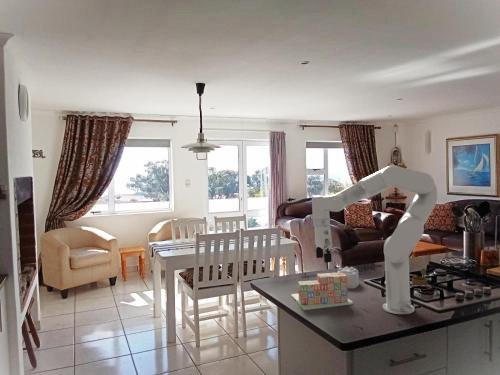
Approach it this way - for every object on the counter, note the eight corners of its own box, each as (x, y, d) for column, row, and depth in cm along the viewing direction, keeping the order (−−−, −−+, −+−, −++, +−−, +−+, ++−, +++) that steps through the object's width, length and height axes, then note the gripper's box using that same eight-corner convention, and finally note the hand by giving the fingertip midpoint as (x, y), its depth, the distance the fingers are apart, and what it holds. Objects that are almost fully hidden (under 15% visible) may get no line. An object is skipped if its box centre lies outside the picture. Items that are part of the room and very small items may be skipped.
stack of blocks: (300, 305, 168) (299, 278, 168) (298, 300, 175) (297, 274, 174) (348, 302, 169) (347, 275, 169) (344, 298, 175) (343, 271, 175)
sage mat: (353, 304, 170) (352, 301, 170) (304, 310, 165) (304, 307, 165) (344, 297, 179) (344, 295, 179) (297, 303, 174) (297, 301, 174)
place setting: (396, 285, 193) (396, 274, 193) (422, 278, 203) (421, 268, 203) (427, 294, 178) (427, 282, 178) (453, 286, 188) (452, 275, 188)
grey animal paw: (335, 286, 196) (334, 270, 195) (342, 280, 207) (341, 264, 207) (355, 289, 191) (354, 272, 190) (361, 281, 202) (360, 265, 202)
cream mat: (343, 296, 180) (342, 294, 180) (296, 302, 176) (296, 300, 176) (335, 291, 189) (335, 289, 189) (291, 296, 185) (291, 294, 185)
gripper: (337, 223, 163) (339, 263, 163) (322, 219, 180) (324, 255, 180) (320, 225, 161) (323, 265, 162) (307, 221, 178) (309, 256, 179)
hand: (323, 259), depth 171 cm, fingers open, 9 cm apart
